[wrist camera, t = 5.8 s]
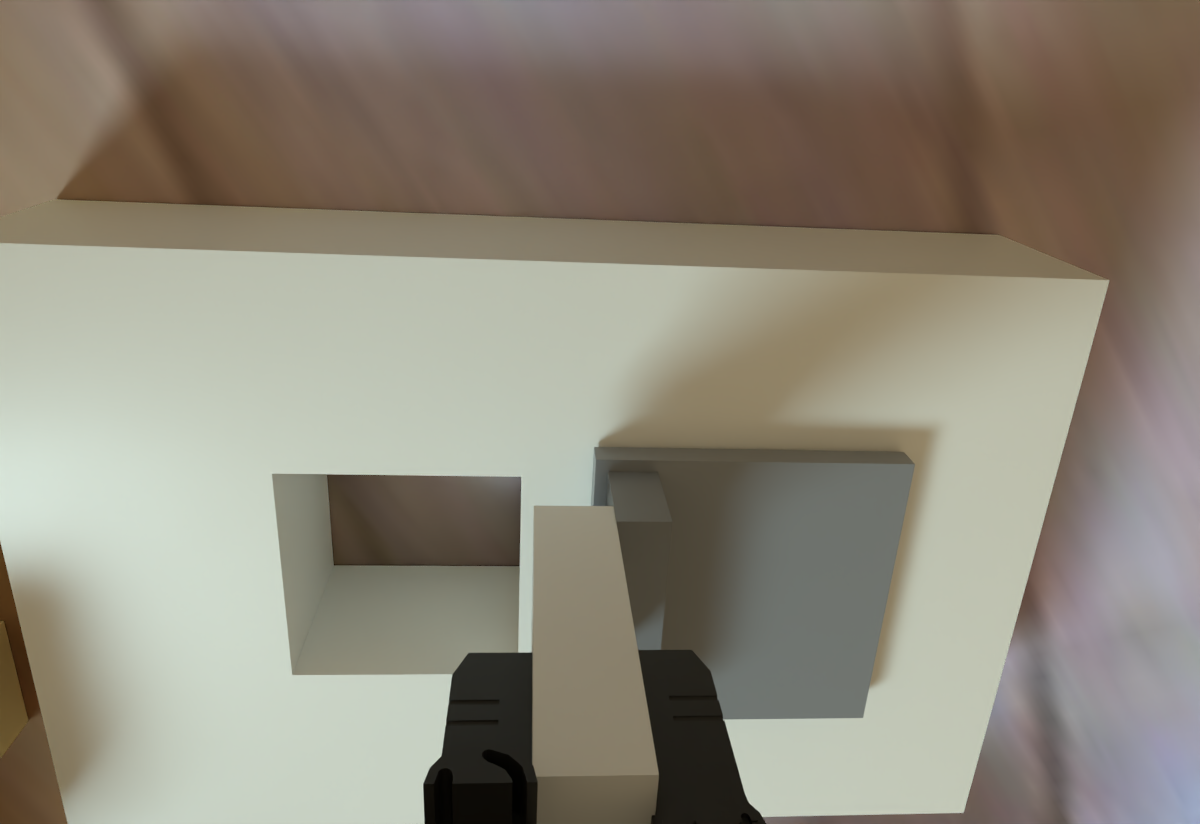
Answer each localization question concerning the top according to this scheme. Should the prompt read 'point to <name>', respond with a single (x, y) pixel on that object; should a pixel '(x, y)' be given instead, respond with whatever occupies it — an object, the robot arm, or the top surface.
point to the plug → (9, 696)
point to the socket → (481, 474)
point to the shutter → (761, 566)
